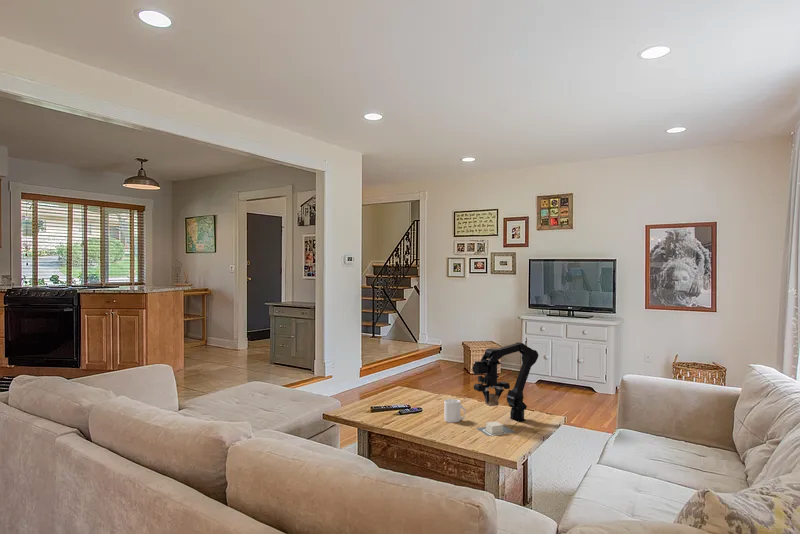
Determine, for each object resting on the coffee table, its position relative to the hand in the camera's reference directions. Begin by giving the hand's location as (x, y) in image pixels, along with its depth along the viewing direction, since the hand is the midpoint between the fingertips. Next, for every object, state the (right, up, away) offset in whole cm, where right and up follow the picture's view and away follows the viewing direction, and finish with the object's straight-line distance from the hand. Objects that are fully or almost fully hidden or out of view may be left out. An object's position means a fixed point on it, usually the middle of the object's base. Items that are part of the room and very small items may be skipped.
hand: (491, 402), depth 250 cm
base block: (-2, -10, -15) cm, 18 cm away
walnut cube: (0, -1, 0) cm, 1 cm away
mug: (-19, -11, +4) cm, 22 cm away
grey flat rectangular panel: (0, -11, -12) cm, 16 cm away
